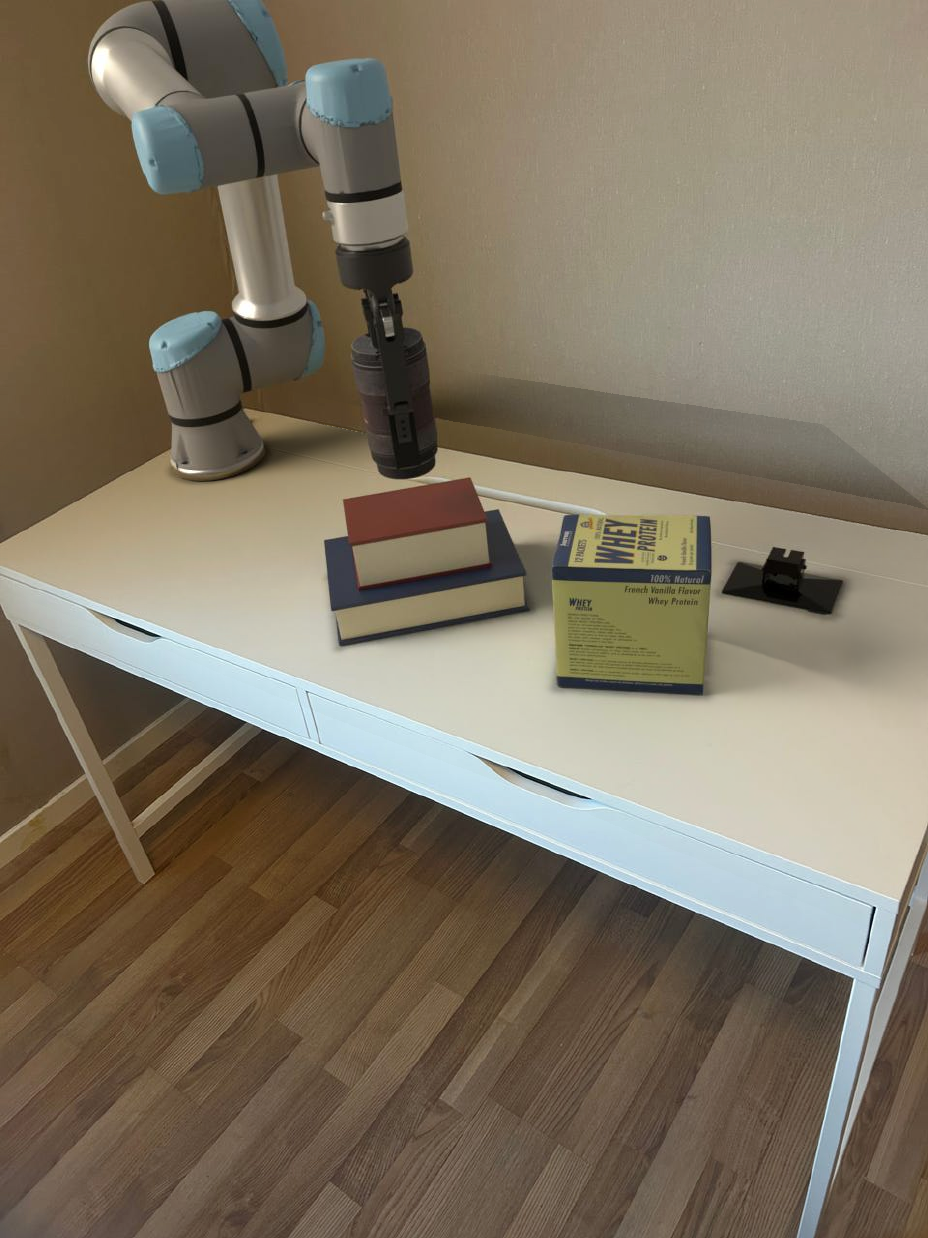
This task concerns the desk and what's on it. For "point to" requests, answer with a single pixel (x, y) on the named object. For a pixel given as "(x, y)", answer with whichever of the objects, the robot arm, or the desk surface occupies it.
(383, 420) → the camera lens
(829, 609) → the build plate
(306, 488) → the desk surface
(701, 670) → the protein box
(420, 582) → the encyclopedia
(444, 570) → the dictionary
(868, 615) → the desk surface
